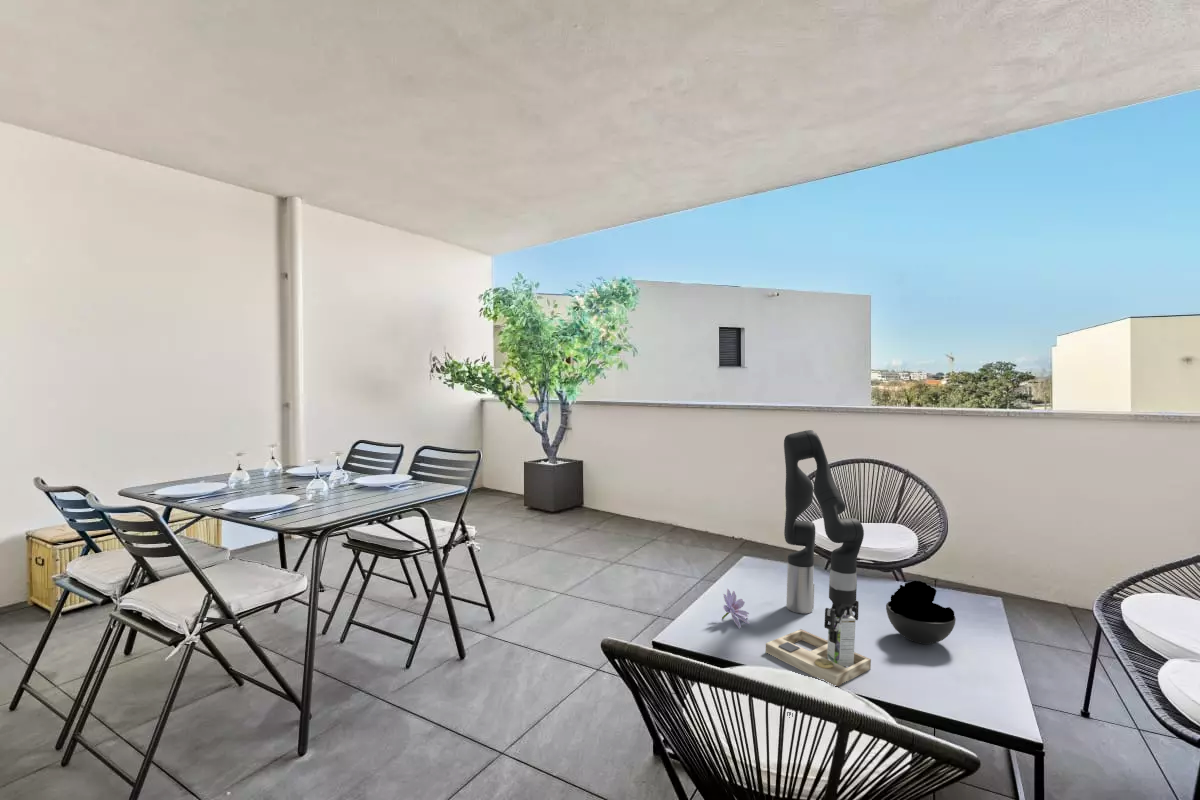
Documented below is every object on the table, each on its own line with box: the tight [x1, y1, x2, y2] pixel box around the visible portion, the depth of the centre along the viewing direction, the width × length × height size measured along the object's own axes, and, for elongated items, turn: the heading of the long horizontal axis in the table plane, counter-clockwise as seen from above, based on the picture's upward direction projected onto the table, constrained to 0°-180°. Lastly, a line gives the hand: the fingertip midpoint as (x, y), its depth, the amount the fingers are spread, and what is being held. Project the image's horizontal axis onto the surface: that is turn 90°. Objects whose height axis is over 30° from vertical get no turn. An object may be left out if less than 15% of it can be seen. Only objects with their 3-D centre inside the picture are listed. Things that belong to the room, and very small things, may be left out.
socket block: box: [765, 628, 872, 687], centre depth 172 cm, size 18×24×3 cm
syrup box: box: [827, 615, 857, 667], centre depth 169 cm, size 6×6×14 cm
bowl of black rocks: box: [885, 580, 957, 645], centre depth 186 cm, size 20×20×19 cm
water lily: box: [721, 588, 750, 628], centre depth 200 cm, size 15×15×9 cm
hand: (841, 638), depth 169 cm, fingers closed on syrup box, 7 cm apart
